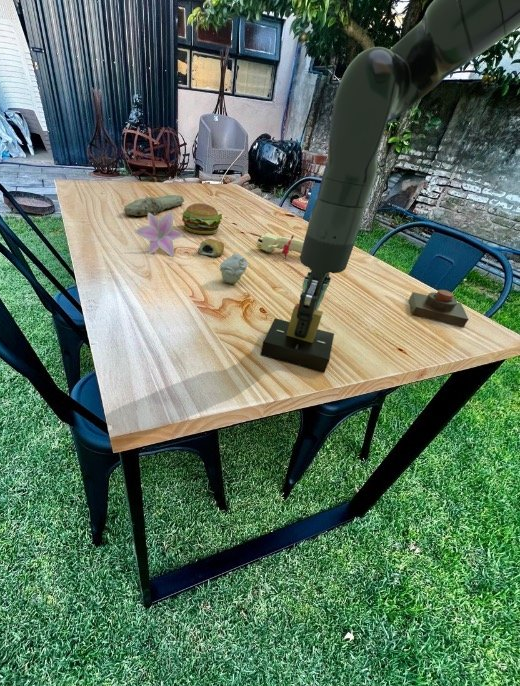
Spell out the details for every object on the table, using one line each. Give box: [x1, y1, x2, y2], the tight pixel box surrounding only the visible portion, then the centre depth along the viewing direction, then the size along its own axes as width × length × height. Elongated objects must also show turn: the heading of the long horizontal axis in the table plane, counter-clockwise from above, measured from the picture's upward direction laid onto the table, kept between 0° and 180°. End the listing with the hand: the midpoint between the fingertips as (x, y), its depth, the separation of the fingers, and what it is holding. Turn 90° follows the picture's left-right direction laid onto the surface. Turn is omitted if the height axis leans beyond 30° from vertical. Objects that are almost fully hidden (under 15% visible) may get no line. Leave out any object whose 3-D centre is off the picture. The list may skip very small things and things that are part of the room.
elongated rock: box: [123, 194, 185, 217], centre depth 133 cm, size 35×5×10 cm
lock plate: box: [260, 317, 335, 373], centre depth 66 cm, size 12×10×3 cm
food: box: [180, 202, 223, 236], centre depth 117 cm, size 14×14×8 cm
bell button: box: [435, 289, 455, 302], centre depth 85 cm, size 4×4×2 cm
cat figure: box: [255, 232, 304, 259], centre depth 106 cm, size 10×9×25 cm
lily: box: [134, 210, 184, 257], centre depth 98 cm, size 12×12×10 cm
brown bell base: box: [408, 291, 470, 328], centre depth 86 cm, size 12×10×4 cm
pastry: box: [197, 238, 225, 258], centre depth 103 cm, size 9×7×4 cm
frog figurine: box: [219, 253, 248, 285], centre depth 86 cm, size 6×7×7 cm
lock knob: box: [287, 303, 324, 343], centre depth 63 cm, size 5×2×6 cm, turn 67°
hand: (301, 332), depth 64 cm, fingers closed on lock knob, 2 cm apart
